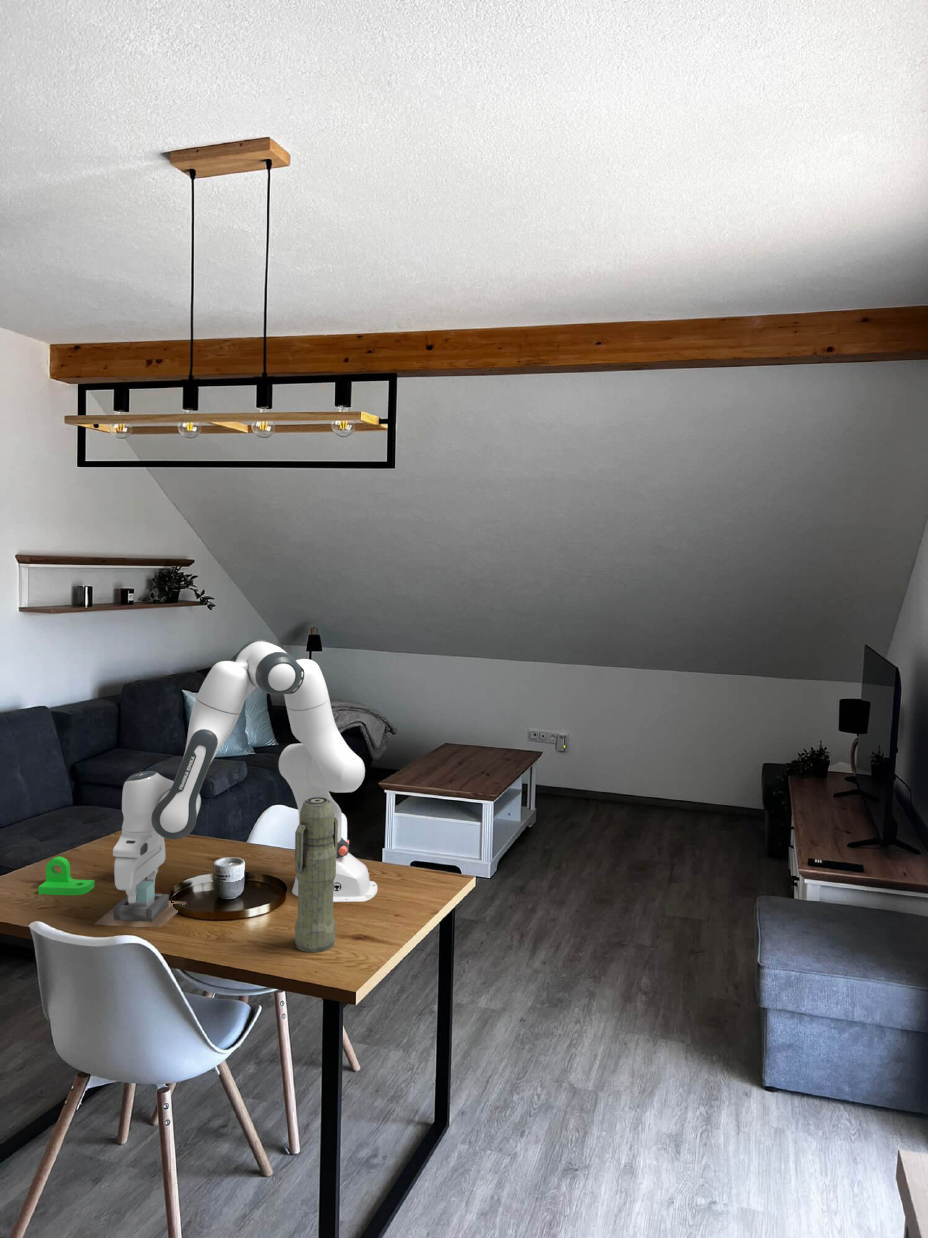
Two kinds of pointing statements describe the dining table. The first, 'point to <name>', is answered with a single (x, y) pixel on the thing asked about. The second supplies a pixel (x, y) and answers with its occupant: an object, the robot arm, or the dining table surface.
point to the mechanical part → (63, 880)
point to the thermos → (315, 875)
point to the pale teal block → (144, 894)
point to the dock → (141, 913)
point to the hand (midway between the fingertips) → (141, 894)
